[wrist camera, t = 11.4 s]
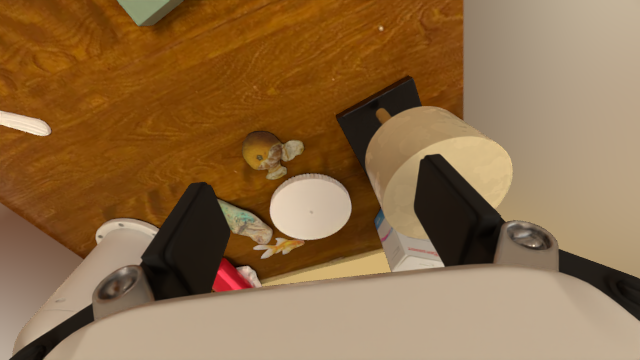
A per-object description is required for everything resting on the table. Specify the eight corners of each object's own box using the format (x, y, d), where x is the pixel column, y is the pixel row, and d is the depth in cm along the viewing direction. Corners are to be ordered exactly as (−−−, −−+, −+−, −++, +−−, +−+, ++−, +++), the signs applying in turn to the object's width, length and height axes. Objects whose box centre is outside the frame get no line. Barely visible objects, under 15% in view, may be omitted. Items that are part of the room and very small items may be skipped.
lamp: (423, 125, 33) (517, 211, 18) (363, 155, 35) (404, 253, 21) (403, 61, 28) (507, 109, 14) (334, 100, 30) (362, 177, 16)
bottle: (256, 328, 54) (192, 266, 49) (274, 307, 56) (214, 246, 52) (263, 339, 49) (193, 273, 45) (282, 316, 52) (217, 250, 47)
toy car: (224, 275, 51) (230, 263, 54) (248, 314, 55) (252, 301, 58) (248, 269, 50) (252, 258, 53) (270, 309, 54) (273, 296, 58)
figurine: (211, 177, 40) (203, 191, 37) (278, 225, 47) (277, 240, 44) (191, 195, 42) (182, 210, 38) (259, 239, 49) (256, 255, 45)
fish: (260, 259, 52) (250, 244, 49) (260, 259, 52) (250, 244, 49) (307, 248, 51) (300, 232, 48) (307, 248, 51) (300, 232, 48)
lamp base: (435, 158, 40) (445, 169, 37) (373, 186, 43) (378, 198, 40) (408, 75, 33) (418, 80, 30) (335, 115, 35) (338, 124, 32)
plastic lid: (256, 212, 44) (255, 222, 42) (298, 155, 38) (298, 164, 36) (319, 238, 50) (320, 248, 48) (364, 192, 44) (368, 201, 42)
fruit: (279, 181, 41) (277, 194, 38) (233, 157, 38) (227, 169, 35) (307, 144, 37) (308, 156, 34) (259, 114, 34) (255, 123, 31)
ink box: (372, 221, 47) (390, 275, 38) (383, 202, 45) (406, 254, 35) (410, 229, 49) (436, 282, 39) (423, 211, 47) (455, 263, 37)
